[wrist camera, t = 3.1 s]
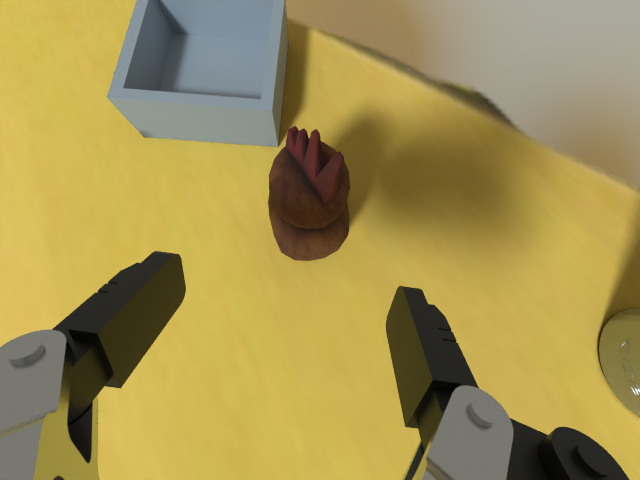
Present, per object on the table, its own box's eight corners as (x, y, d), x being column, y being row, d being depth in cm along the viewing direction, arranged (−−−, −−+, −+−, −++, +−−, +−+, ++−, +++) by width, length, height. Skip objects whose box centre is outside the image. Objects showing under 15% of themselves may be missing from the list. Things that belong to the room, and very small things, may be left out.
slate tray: (288, 44, 30) (285, -7, 25) (278, 146, 26) (271, 110, 22) (169, 34, 29) (142, -21, 24) (144, 137, 26) (107, 97, 21)
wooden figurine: (347, 260, 24) (411, 186, 9) (283, 273, 23) (246, 215, 9) (330, 192, 25) (363, 37, 11) (270, 202, 25) (222, 54, 10)
